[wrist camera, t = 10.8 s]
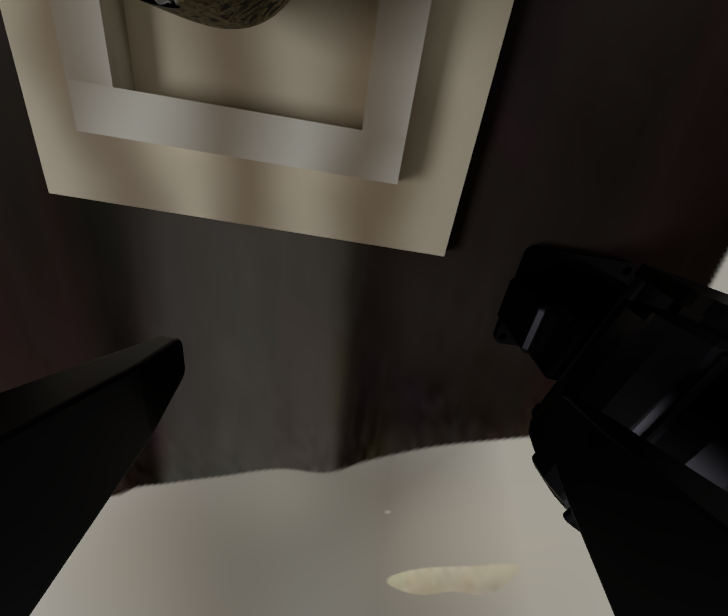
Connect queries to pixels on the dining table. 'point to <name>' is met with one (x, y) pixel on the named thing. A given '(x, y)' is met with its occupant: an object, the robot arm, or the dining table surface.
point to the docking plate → (264, 111)
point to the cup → (222, 11)
